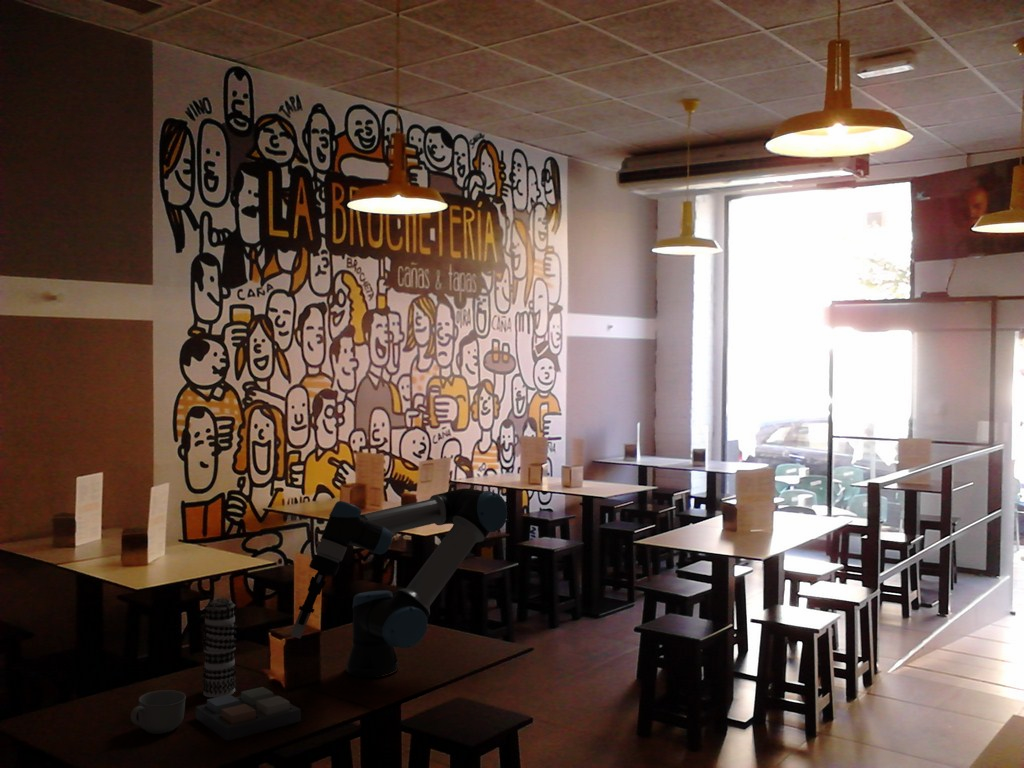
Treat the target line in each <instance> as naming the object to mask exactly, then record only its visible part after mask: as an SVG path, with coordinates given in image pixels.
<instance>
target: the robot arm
mask: <svg viewBox="0 0 1024 768" xmlns="http://www.w3.org/2000/svg"><path fill="white" fill-rule="evenodd" d="M507 511H508V506H507V503H506V500H505V499H504V498H503V497H502V496H501V494H499V493H496V492H493V491H490V490H479V489H474V488H473V489H472V488H459V489H453V490H449V491H446V492H442V493H437V494H433V495H431V496H430V498H429V499H425V500H421V501H416V502H412V503H407V504H402V505H397V506H394V507H389V508H384V509H380V510H376V511H371V512H366V513H362V509H361V507H358V505H354V504H352V503H351V502H350V503H349V502H347V501H343V500H338V501H337V502H335V504H334V506H333V507H332V510H331V512H330V513H329V517H328V520H327V521H326V525H325V526H324V529H323V532H322V534H321V537H320V540H317V541H316V543H315V544H316V545H317V546H316V549H315V553H316V554H313V556H312V558H311V561H310V563H309V568H310V569H312V570H315V571H317V573H315V574H314V576H311V578H310V581H309V586H308V588H307V592H308V593H307V595H306V598H305V600H304V602H303V604H302V605H299V607H298V610H299V614H298V616H297V618H296V620H295V623H294V625H293V627H292V629H291V633H290V636H291V637H294V638H295V639H296V638H297V639H300V640H301V638H302V636H303V633H304V631H305V629H306V626H307V624H308V621H309V619H310V616H311V614H313V613H314V612H315V609H314V605H315V602H316V601H317V598H318V595H321V592H322V590H323V588H325V585H326V584H327V581H326V580H325V579H326V575H328V576H331V577H336V575H337V574H338V571H339V569H340V566H341V564H340V562H342V561H343V559H344V557H345V554H346V551H347V549H348V547H349V546H351V547H356V548H359V549H363V550H367V551H369V552H371V553H372V554H373V553H374V554H377V555H384V554H385V553H386V552H388V550H389V549H390V547H391V545H392V542H393V534H395V533H400V532H403V531H409V530H412V529H417V528H420V527H424V526H430V525H433V524H435V525H436V526H443V525H453V526H452V527H451V528H450V529H449V531H447V534H446V535H445V536H444V537H443V539H442V540H441V541H440V542H439V544H438V545H437V546H436V548H435V549H434V551H433V552H432V553H431V555H430V556H429V557H428V558H427V560H426V561H425V562H424V564H423V565H422V566H421V568H420V569H419V570H418V571H417V573H416V574H415V576H414V577H413V578H412V580H411V581H410V582H409V584H408V585H407V586H406V587H405V588H400V589H398V590H397V591H396V592H395V593H394V595H393V592H392V590H373V591H372V590H371V591H365V592H360V593H357V594H355V595H354V596H353V599H352V607H351V609H352V645H351V649H350V653H349V656H348V658H347V662H346V670H347V671H346V673H347V672H348V673H349V674H351V675H354V676H358V677H357V678H360V677H377V676H382V675H385V674H389V673H391V672H393V671H395V670H396V669H397V668H398V669H399V661H398V660H399V659H398V657H397V653H396V650H395V648H400V649H407V648H408V649H409V648H413V647H414V646H416V645H418V644H419V642H421V641H422V639H423V638H424V637H425V635H426V633H427V631H428V627H427V625H428V618H429V617H430V615H431V609H430V607H431V605H432V604H433V602H434V601H435V600H436V599H437V597H438V595H439V594H440V593H441V591H442V590H443V589H444V587H445V586H446V584H447V583H448V582H449V581H450V579H451V578H452V576H453V575H454V573H455V572H456V571H457V570H458V568H459V567H460V565H462V563H463V562H464V560H465V558H466V557H467V556H468V554H469V553H470V551H471V550H472V549H473V548H474V546H476V545H475V544H476V543H481V542H484V541H485V540H486V539H487V536H488V535H490V533H494V532H498V531H500V530H501V529H502V528H503V527H504V525H505V524H506V522H507V518H508V512H507ZM348 673H347V674H348ZM349 674H348V675H349ZM351 675H350V676H351ZM354 676H353V677H354Z"/></svg>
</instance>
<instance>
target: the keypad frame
mask: <svg viewBox="0 0 1024 768" xmlns="http://www.w3.org/2000/svg"><path fill="white" fill-rule="evenodd" d="M275 696H277V695H276V694H275V693H273V697H275ZM234 697H235V698H237V699H238V700H240V705H242V704H246V703H244V702H243V701H241V695H239V696H234ZM246 705H248V704H246ZM248 706H249V705H248ZM250 707H251V708H253V709H255V710H256V705H252V706H250ZM195 720H197V721H198V722H200V723H201V724H202V725H204V726H206V728H208V729H210V730H211V731H212V732H214V733H215V734H217V735H218V736H220V737H221V738H223V739H224V740H225V741H227V742H229V741H233V740H235V739H240V738H244V737H247V736H252V735H256V734H259V733H262V732H267V731H270V730H274V729H279V728H281V727H286V726H289V725H293V724H296V722H297V723H300V721H301V722H302V709H301V708H300V707H298V706H296V705H294V704H292V703H290V710H287V711H283V712H279V713H275V714H271V715H268V716H266V715H264V714H263V713H261V712H259V711H258V710H256V719H252V720H248V721H244V722H240V723H236V724H232V725H230V724H229V723H227V722H226V721H224V720H223V719H222V713H219V714H214V713H213V712H211V711H210V710H208V709H207V703H205V704H201V705H197V706H195Z"/></svg>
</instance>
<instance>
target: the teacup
mask: <svg viewBox="0 0 1024 768" xmlns="http://www.w3.org/2000/svg"><path fill="white" fill-rule="evenodd" d="M186 699H187V695H186V693H185V692H182V691H179V690H173V689H172V690H171V689H170V690H168V689H164V690H163V689H162V690H161V689H160V690H155V691H154V690H153V691H149V692H146V693H144V694H142V695H140V697H139V698H138V705H137V706H135V707H134V708H133V709H132V711H131V713H130V721H131V722H132V724H134V725H136V726H138V727H140V728H141V730H145V732H147V733H149V734H153V735H162V734H163V733H164V734H168V733H171V732H173V731H174V730H175V729H176V728H178V727H179V726H180V725H181V724H182V723H183V720H184V717H185V711H186V710H185V709H186ZM137 715H138V719H137ZM170 731H171V732H170ZM167 732H168V733H167ZM164 734H163V735H164Z"/></svg>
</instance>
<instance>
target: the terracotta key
mask: <svg viewBox="0 0 1024 768" xmlns="http://www.w3.org/2000/svg"><path fill="white" fill-rule="evenodd" d="M222 719H223V720H224V721H226V722H227V723H229V724H230V725H232V724H236V723H240V722H244V721H248V720H252V719H256V710H255V709H253V708H251V707H250V706H248V705H246V704H242V705H238V706H233V707H229V708H225V709H222Z"/></svg>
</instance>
